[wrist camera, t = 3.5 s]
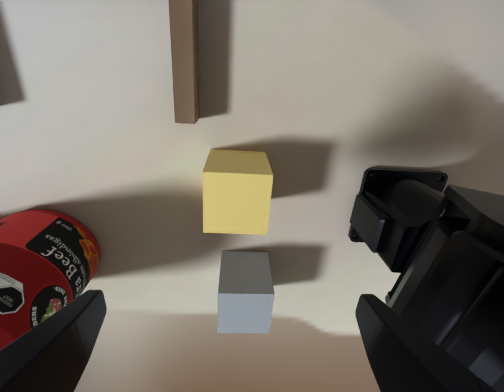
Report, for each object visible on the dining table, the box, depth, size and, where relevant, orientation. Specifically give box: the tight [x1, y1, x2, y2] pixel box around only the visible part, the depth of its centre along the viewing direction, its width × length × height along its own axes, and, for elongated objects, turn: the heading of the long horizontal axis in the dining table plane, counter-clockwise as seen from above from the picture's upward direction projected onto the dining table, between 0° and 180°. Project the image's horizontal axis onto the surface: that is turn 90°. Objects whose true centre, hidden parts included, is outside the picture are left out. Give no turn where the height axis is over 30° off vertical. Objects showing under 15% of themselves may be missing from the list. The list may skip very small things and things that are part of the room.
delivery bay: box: [169, 0, 199, 124], centre depth 15 cm, size 14×9×2 cm, turn 86°
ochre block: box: [203, 149, 273, 235], centre depth 18 cm, size 4×4×5 cm
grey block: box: [217, 251, 274, 333], centre depth 22 cm, size 4×4×5 cm
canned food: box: [0, 209, 100, 350], centre depth 17 cm, size 8×8×11 cm
